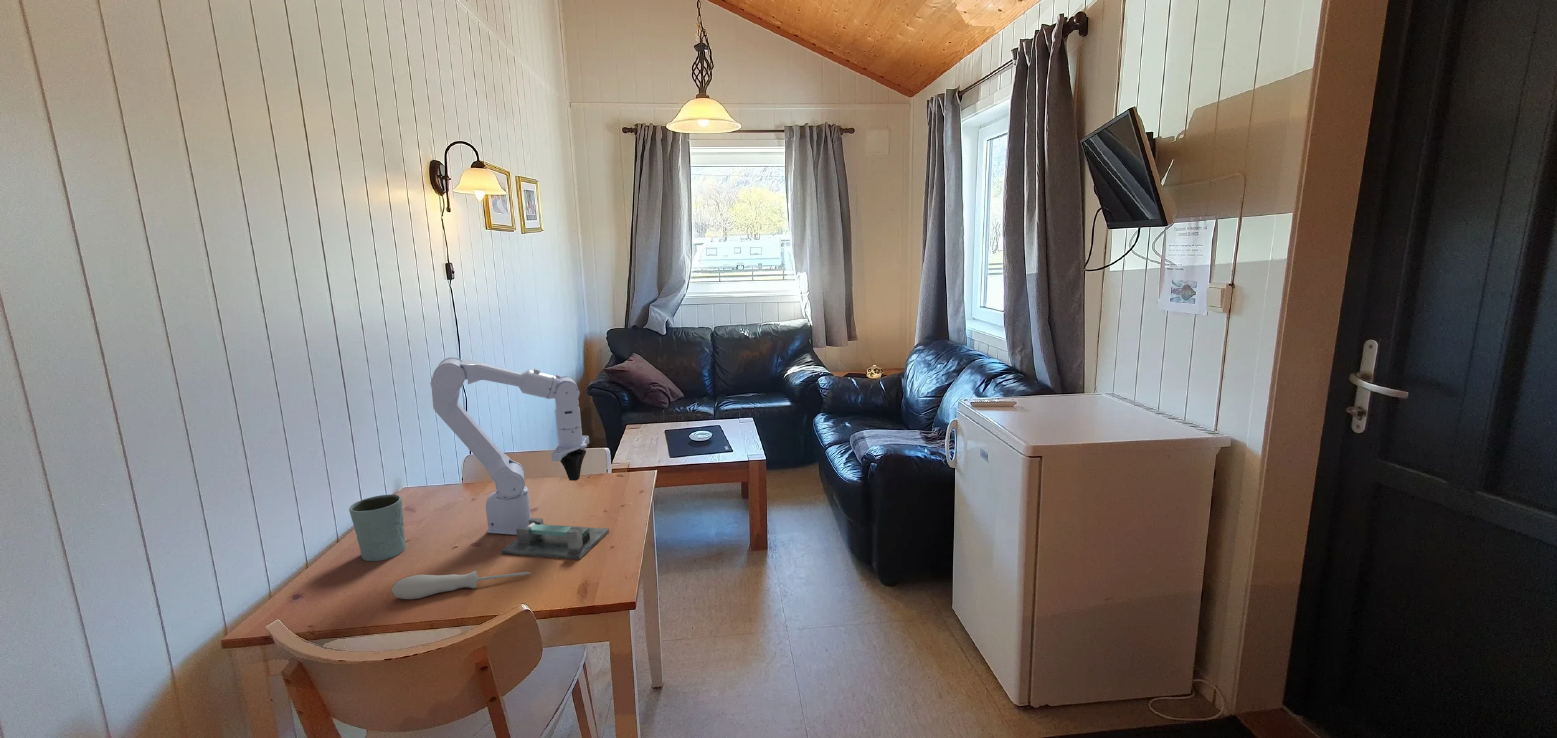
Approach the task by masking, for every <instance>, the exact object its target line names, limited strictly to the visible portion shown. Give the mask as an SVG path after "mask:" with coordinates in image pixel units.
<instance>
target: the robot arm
mask: <svg viewBox="0 0 1557 738" xmlns="http://www.w3.org/2000/svg"><path fill="white" fill-rule="evenodd" d="M466 380H467V385H470V384H473V383H476V382H479V381H487V382H493V383H498V384H503V385H509V386H515V387H518V389H519V390H520V391H521V393H522V394H526V395H529V396H530V395H531V396H534V397H539V398H543V399H547V400H551V399H554V401H555V411H554V412H555V420H556V431H557V442H558V443H557V444H558V445H557V446H556V447H555V449H554V451H553V452H551V460H552V462H560V463H561V464H562V466H563V468H564V469H565V472H566V475H567V477H568V478H567V479H568V481H573V482H574V481H575V482H576V481H578V480H580V476H581V471H582V470H581V469H582V464H583V461H584V458H585V456H586V453H587V451H586V449H585V448H587V447H588V444H590V437H589V435H583V429H582V420H581V419H582V417H581V408H580V406H579V405H580V401H579V397H580V394H581V391H580V390H579V387H578V385H577V383H576V382H575V380H574V379H572V378H570V377H568V376H566V375H564V376H561V375H560V374H556V373H555V375H552V374H549V373H545V372H541V370H540V368H534V369H527V370H526V371H524V372H518V371H514V370H510V369H507V368H503V367H500V366H497V365H491V364H489V363H486V362H481V361H478V360H472V359H467V358H466V359H465V358H463V359H461V358H458V357H454V356H453V357H451V356H450V357H447V358H446V357H445V359H443V360H441V361H440V362H439V364H438V366H437V367H436V368H435V369H434V371H433V374H432V377H431V380H430V388H431V396H432V397H431V398H432V408H433V410H434V411H435V413H436V414H437V415H438V416H439V417H440V419H441V420H442V421H443V422H444V423H445V424H446V425H447V427H449V429H451V431H452V432H453V433H454V434H455V435H456V436H457V437H458V439H459V440H460V442H462V443H463V444H464V445H465V446H466V447H467V448H468V450H469V451H470V452H471V453H472V454H473V455H474V456H475V458H477V460H478V461H479V462H480V463H481V464H482V465H483V467H485V469H486V472H487V473H488V475H489V477H490V478H491V480H492V481H493V482H494V485H495V489H496V491H495V492H491V493H490V494H489V495H488V497H487V498H486V502H485V512H486V520H487V521H486V522H487V530H486V533H487V534H495V535H496V534H498V535H500V534H501V535H511V536H513V535H514V536H517V532H516V529H517V528H518V527H527V526H529V519H531V518H532V514H531V504H530V493H529V488H528V487H527V485H526V482H525V469H524V466H523V465H522V464H521V463H519V462H517V461H515V460H513V459H511V457H510V456H509V455H508V454H506V453H504V452H502V450H501V449H500V448H499V447H498V446H497V445H496V444H495V442H494V441H493V440H492V439H491V438H490V436H489V435H487V433H486V432H485V431H484V430H483V428H482V427H481V426H480V425H479V424H478V423H477V422H476V420H475V419H474V418H473V417H472V416H471V415H470V414H469V413H468V412H467V410H466V409H465V408H464V407H463V406H462V405H461V403H460V402H459V399H460V393H461V388H462V386H463V385H464V383H465V381H466Z"/></svg>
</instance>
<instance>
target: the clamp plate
mask: <svg viewBox="0 0 1557 738" xmlns="http://www.w3.org/2000/svg"><path fill="white" fill-rule="evenodd" d="M532 523H536V524H542V525H545V523H544V518H539V517H538V518H537V517H536V518H535V517H531V519H529V525H530V524H532ZM554 525H555V526H559V525H557V524H554ZM567 526H568V527H572V528H570V529H569V530H568V531H567V532H566V534H567V537H565V536H552V535H540V534H532V531H531V527H518V528H517V529H516V532H517V535H516V539H514V541H512V542H510V543H509V544H508V545H507V546H505V547H504V548H503V549H501V550H500V551H501V552H500V553H501V555H511V556H512V555H513V556H523V557H525V556H526V557H540V558H551V559H552V558H554V559H555V558H556V559H569V560H581V559H582V558H584V556H585V555H587V553H588V552H589V551H591V550H592V549H593V548H594V547H595V546H596V545H597V544H598V543H599V542H601V540H602V539H603V538H605V536H606V535H608V533H609V532H610V528H607V527H606V528H605V527H587V526H584V527H585V528H589V533H588V534H587V535H586V536H585V537H584V538H582V532H583V528H581V527H582V526H573V525H571V526H569V525H567Z"/></svg>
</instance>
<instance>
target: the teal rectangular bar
mask: <svg viewBox="0 0 1557 738" xmlns="http://www.w3.org/2000/svg"><path fill="white" fill-rule="evenodd" d="M555 525H556V524H553V525H552V524H544V525H542V524H536V523H532V524H530V525H529V526H527V527H531V531H532V534H540V535H552V536H565V537H567V534H566V532H567V531H568V530H569V529H570V528H572V527H568V526H569V525H558V526H555ZM580 527H581V528H583V532H582V538H584V537H585V536H586V535H587V534H588V533H589V528H585V527H586V526H580Z"/></svg>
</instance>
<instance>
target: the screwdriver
mask: <svg viewBox="0 0 1557 738" xmlns="http://www.w3.org/2000/svg"><path fill="white" fill-rule="evenodd" d="M531 573H532V572H530V571H523V572H522V571H521V572H514V573H505V574H496V575H490V576H489V575H488V576H483V577H479V575H478V572H477V570H473V571H471V572H469V573H466V574H457V573H456V574H455V573H451V574H443V575H442V574H441V575H439V574H438V575H437V574H436V575H435V574H423V573H422V574H416V575H415V574H414V575H410V576H408V577H404V578H402V579H399V580H398V581H396V582H395V584H394V585H393V586H392V590H391V591H392V592H391V593H392V594H393V596H395V598H397V599H403V600H417V599H418V600H419V599H422V598H426V597H429V596H432V595H436V594H438V593H439V594H440V593H444V592H451V591H452V592H453V591H455V590H458V589H461V588H470V589H476V588H477V587H478V583H479V581H487V580H495V579H501V578H503V579H505V578H511V577H512V578H513V577H518V576H519V577H520V576H527V575H530V574H531Z"/></svg>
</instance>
